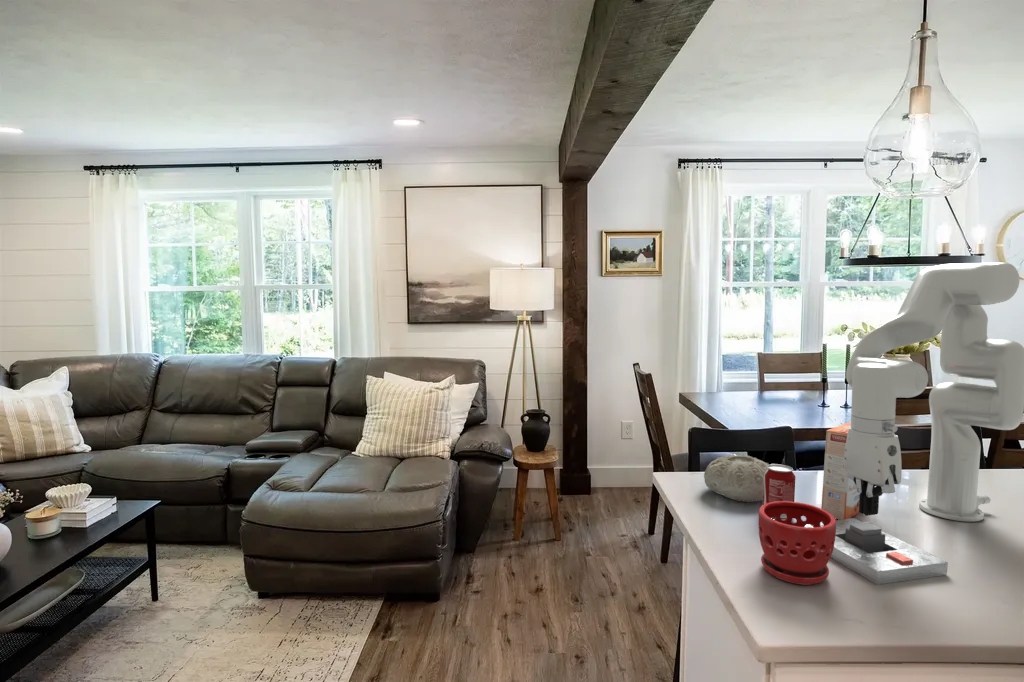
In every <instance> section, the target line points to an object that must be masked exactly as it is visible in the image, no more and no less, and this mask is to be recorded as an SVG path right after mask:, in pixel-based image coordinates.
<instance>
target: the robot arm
mask: <svg viewBox="0 0 1024 682" xmlns="http://www.w3.org/2000/svg"><path fill="white" fill-rule="evenodd" d="M1019 286H1020V274H1019V271H1018V269H1017V268H1016V266H1014V265H1013V264H1012V263H1009V262H963V263H961V262H960V263H959V262H958V263H944V264H939V265H938V264H937V265H934V266H933V265H932V266H929V267H925V268H924V269H922V270H920V271H919V272H918V274H917V275H916V277H915V278H914V280H913V282H912V284H911V285H910V288H909V291H908V293H907V294H906V296H905V298H904V300H903V302H902V304H901V306H900V308H899V310H898V312H897V315H896V316H894V317H893V318H891V319H889V320H887V321H885V322H884V323H882V324H880V325H879V326H877V327H875V328H874V329H872V330H871V331H869V332H867V334H866V335H864V336H863V337H862V339H860V341H859V342H858V343H857V345H856V346H855V349H854V350H853V353H852V354H851V356H850V359H849V361H848V364H847V367H846V372H845V377H846V381H847V384H848V385H849V386H850V387H851V388H852V389H851V410H850V411H851V412H850V423H851V427H850V428H849V431H848V434H847V439H846V445H845V453H844V468H845V471H846V472H847V477H848V478H850V479H851V480H853V481H854V483H855V484H856V486H857V492H858V493H860V497H859V513H858V514H862V515H863V516H865V517H867V516H873V515H878V514H879V503H880V502H879V501H880V497H882V496H883V494H894V493H896V488H895V485H899V484H901V482H902V474H903V473H902V470H903V469H902V468H903V467H902V454H901V453H902V451H901V444H900V440H899V436H898V435H897V434H895V433H897V431H898V428H899V427H898V425H896V424H895V423H896V409H897V408H896V407H897V398H900V399H901V398H906V399H908V398H909V399H910V398H914V397H917V396H919V395H921V394H922V393H923V392H925V390H926V388H927V386H928V383H929V374H928V372H927V369H926V368H925V367H924V366H923V365H922V364H921V363H919V362H916V361H913V360H905V359H897V358H896V359H895V358H887V357H881V356H883V355H884V354H886V353H888V352H890V351H892V350H895V349H898V348H902V347H906V346H910V345H913V344H918V343H921V342H925V341H928V340H930V339H934V338H935V337H937V336H938V335H940V333H941V335H940V336H941V339H940V350H939V351H940V352H939V353H940V354H939V365H940V368H941V371H942V372H943V373H944V374H946V375H948V376H953V377H958V378H963V379H964V378H965V379H973V380H983V381H992V382H994V384H995V386H989V385H982V384H981V385H980V384H975V383H966V382H957V381H955V382H954V381H950V382H949V381H947V382H941V383H938V384H936V385H934V386H933V387H932V388H931V389H930V392H929V396H928V404H929V411H930V421H931V436H930V437H931V438H930V441H931V442H930V451H929V452H930V454H929V466H928V468H929V470H928V471H929V472H928V481H927V483H928V485H927V497H926V498H925V499H924V498H923V499H921V500H919V503H918V506H919V509H920V510H922V511H924V512H925V513H927V514H929V515H932V516H935V517H938V518H943V519H947V520H949V521H950V520H952V521H955V522H956V521H958V522H966V523H967V522H969V523H971V522H972V523H973V522H980V521H982V520H984V518H985V513H984V511H982V510H981V509H980V508H979V507H980V506H981V505H985V504H986V505H987V504H989V503H991V499H990V497H989V496H988V495H978V490H979V489H978V487H979V486H978V485H979V473H980V462H981V461H980V459H981V450H982V449H981V448H982V447H981V441H980V439H979V437H978V435H977V433H976V432H975V430H974V429H973V428H972V426H975V427H982V428H986V429H987V428H988V429H993V430H1001V431H1012V430H1015V429H1016V428H1018V427H1019V426H1020V425H1021V422H1022V421H1023V416H1024V346H1023V345H1022V344H1021V343H1020V342H1017V341H1015V340H1012V339H1011V340H1010V339H1009V340H1008V339H1001V338H1000V339H999V338H997V339H996V338H988V322H989V318H988V314H987V313H986V310H985V309H984V308H983V306H989V305H995V304H1000V303H1004V302H1007V301H1009V300H1010V299H1012V298H1013V297H1014V296H1015V295H1016V293H1017V292H1018V288H1019Z"/></svg>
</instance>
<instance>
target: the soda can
mask: <svg viewBox="0 0 1024 682" xmlns="http://www.w3.org/2000/svg"><path fill="white" fill-rule="evenodd" d="M793 471H794V469H793V467H791V466H789V465H785V464H778V463H771V464H768V466H767V470H766V471H765V472H764V484H763V500H762V505H764V504H766V503H769V502H776V501H790V502H795V499H796V498H795V494H796V475H795V473H794V472H793ZM770 518H772V519H776V518H775V517H774V516H772V517H770ZM780 518H781V519H782V520H785V519H786V518H787V515H786V514H782V515H781V516H780Z"/></svg>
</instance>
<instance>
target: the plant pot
mask: <svg viewBox="0 0 1024 682" xmlns="http://www.w3.org/2000/svg"><path fill="white" fill-rule="evenodd" d="M782 514H786V515H787V518H786V519H785V520H782V519H781V518H780V516H781V515H782ZM772 516H774V517H775V518H776V520H773V519H771V518H770V517H772ZM802 517H805V518H806V519H805V520H803V519H802ZM757 518H758V519H757V520H758V521H757V522H758V535H759V536H758V537H759V542H760V546H761V549H762V552H763V554H762V555H761V556H760V557H761V558H760V561H761V565H762V566H763V568H764V569H765V570H766V572H768V573H769V574H770V575H772V576H773V577H775V578H777V579H779V580H782V581H785V582H788V583H792V584H797V585H804V586H806V585H815V584H819V583H822V582H824V581H825V580H826V579H827V578H828V576H829V574H830V569H829V567H828V563H829V561H830V559H831V558H830V557H831V555H832V552H833V549H834V543H835V535H836V520H837V519H835V518H834V517H833V515H831V514H830V513H829V512H827V511H825V510H823V509H821V507H818V506H816V505H812V504H808V503H804V502H798V501H794V502H790V501H776V502H769V503H766V504H764V505H763V504H762V505H761V506H760V507H759V510H758V517H757ZM793 519H795V520H796V522H793V521H792V520H793ZM821 522H822V523H823V525H824V526H822V527H821V526H820V523H821ZM807 524H809V525H812V526H813V527H804V526H805V525H807Z"/></svg>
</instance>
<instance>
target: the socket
mask: <svg viewBox="0 0 1024 682" xmlns="http://www.w3.org/2000/svg"><path fill="white" fill-rule="evenodd" d="M835 520H836V535H835V543H834V549H833V552H832V555H831V558H830V559H832V558H833V559H832V560H833V561H835V560H836V561H835V562H837V561H838V562H837V563H839V564H841V565H842V564H843V565H842V566H845V567H846V568H848V569H850V570H851V571H853V572H855V573H857V574H858V575H860V576H861V577H863V578H864V579H867V580H869V581H870V582H871V583H873V584H875V585H877V586H878V585H884V584H892V583H899V582H905V581H906V582H907V581H913V580H919V579H920V580H921V579H927V578H934V577H942V576H948V567H949V566H948V565H949V562H948V561H946V560H944V559H942V558H940V557H938V556H935V555H934V554H931V553H929V552H927V551H925V550H924V549H921V548H918V547H916V546H914V545H913V544H910V543H908V542H907V541H906V542H905V541H904V540H901V539H899V538H897V537H895V536H894V535H891V534H889V533H886V531H883V530H881V533H883V534H885V549H884V552H876V553H867V552H865V551H863V550H861V549H860V548H858V547H856V546H854V545H852V544H850V543H848V542H846V541H845V532H846V528H850V524H858V523H864V522H863V521H861V520H859V519H857V518H854V517H851V518H850V519H843V520H837V519H835ZM820 526H821V527H822V526H824V525H823V523H822V522H821V523H820ZM804 527H813V526H812V525H809V524H807V525H805V526H804Z"/></svg>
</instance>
